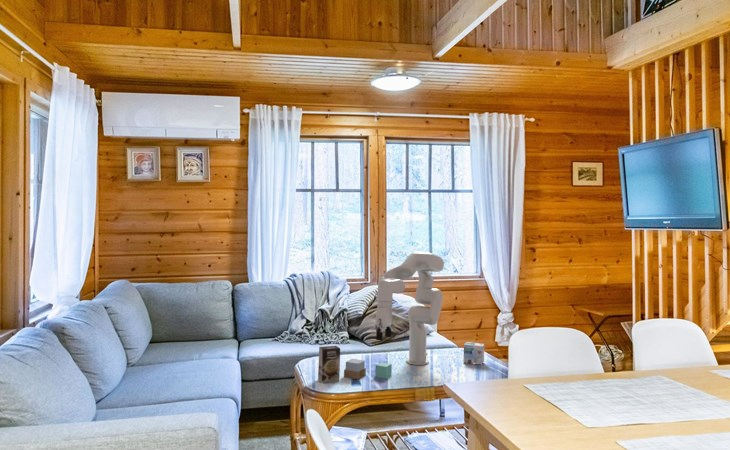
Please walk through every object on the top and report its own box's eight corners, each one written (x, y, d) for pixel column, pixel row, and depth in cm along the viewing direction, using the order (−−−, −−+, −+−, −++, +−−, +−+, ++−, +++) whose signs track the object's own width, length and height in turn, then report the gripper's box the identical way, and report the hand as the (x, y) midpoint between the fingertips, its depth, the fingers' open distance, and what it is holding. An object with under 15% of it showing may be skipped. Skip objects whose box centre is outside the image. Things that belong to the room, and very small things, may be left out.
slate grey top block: (352, 366, 249) (352, 358, 249) (364, 368, 246) (364, 360, 246) (345, 369, 243) (345, 361, 243) (357, 371, 240) (358, 363, 240)
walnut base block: (352, 373, 250) (352, 366, 250) (365, 376, 246) (365, 368, 246) (343, 377, 243) (344, 369, 243) (357, 380, 239) (358, 372, 239)
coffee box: (321, 383, 232) (322, 349, 232) (317, 379, 238) (318, 346, 238) (339, 381, 235) (340, 348, 236) (335, 377, 241) (336, 345, 242)
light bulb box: (463, 363, 274) (463, 344, 274) (465, 360, 280) (465, 341, 280) (482, 365, 270) (482, 346, 270) (484, 362, 276) (484, 343, 276)
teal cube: (380, 374, 250) (381, 362, 250) (391, 376, 247) (391, 364, 247) (375, 377, 244) (375, 365, 244) (386, 379, 241) (386, 366, 242)
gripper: (385, 301, 255) (384, 334, 255) (370, 305, 240) (368, 340, 240) (398, 303, 252) (397, 336, 251) (383, 306, 237) (382, 342, 236)
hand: (383, 338), depth 245 cm, fingers open, 9 cm apart
